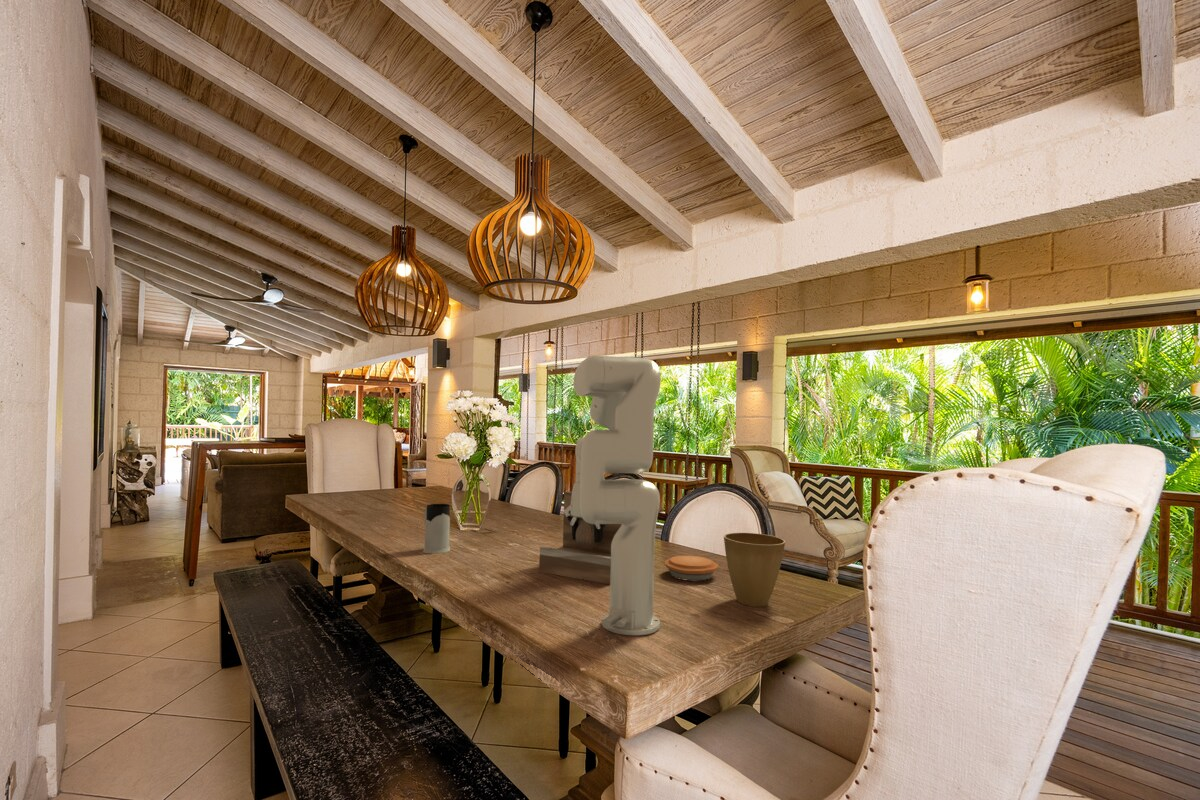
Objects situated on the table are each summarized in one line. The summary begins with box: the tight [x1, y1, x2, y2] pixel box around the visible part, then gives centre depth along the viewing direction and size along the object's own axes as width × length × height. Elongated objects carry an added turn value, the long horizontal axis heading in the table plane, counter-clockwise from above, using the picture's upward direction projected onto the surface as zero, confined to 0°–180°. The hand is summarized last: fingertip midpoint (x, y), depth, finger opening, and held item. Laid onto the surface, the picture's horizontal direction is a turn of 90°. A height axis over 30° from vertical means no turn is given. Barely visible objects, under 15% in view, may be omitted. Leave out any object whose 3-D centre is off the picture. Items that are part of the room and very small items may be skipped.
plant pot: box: [723, 532, 786, 607], centre depth 141 cm, size 15×15×16 cm
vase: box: [575, 520, 597, 549], centre depth 165 cm, size 7×7×9 cm
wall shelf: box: [538, 490, 622, 585], centre depth 165 cm, size 14×24×22 cm, turn 61°
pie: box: [664, 555, 719, 581], centre depth 164 cm, size 15×16×5 cm
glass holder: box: [422, 503, 451, 555], centre depth 190 cm, size 9×14×15 cm, turn 41°
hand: (587, 539), depth 164 cm, fingers closed on vase, 6 cm apart
